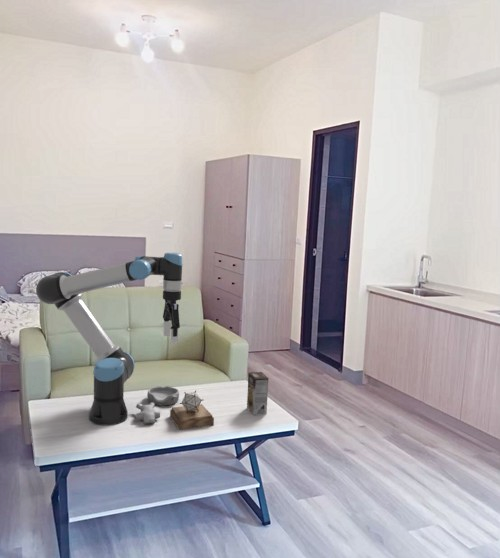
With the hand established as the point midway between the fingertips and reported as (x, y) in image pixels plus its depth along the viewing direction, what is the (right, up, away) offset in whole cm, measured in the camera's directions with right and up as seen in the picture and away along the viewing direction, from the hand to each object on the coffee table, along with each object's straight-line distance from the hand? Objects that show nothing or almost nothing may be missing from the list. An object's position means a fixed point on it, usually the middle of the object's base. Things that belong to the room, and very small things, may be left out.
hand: (170, 339), depth 227 cm
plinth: (+10, -32, -8) cm, 34 cm away
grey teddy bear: (-8, -32, -7) cm, 33 cm away
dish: (-5, -29, +14) cm, 33 cm away
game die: (+10, -28, -8) cm, 31 cm away
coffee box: (+36, -32, +6) cm, 49 cm away
